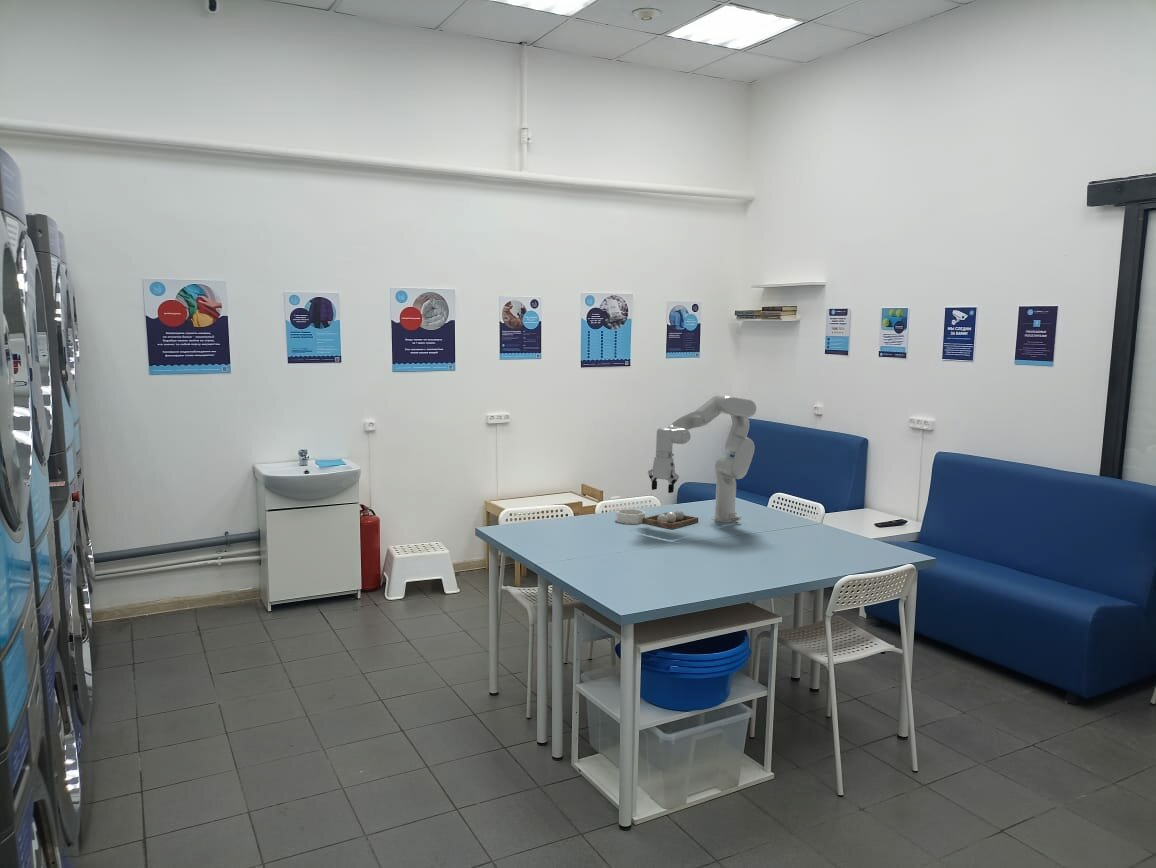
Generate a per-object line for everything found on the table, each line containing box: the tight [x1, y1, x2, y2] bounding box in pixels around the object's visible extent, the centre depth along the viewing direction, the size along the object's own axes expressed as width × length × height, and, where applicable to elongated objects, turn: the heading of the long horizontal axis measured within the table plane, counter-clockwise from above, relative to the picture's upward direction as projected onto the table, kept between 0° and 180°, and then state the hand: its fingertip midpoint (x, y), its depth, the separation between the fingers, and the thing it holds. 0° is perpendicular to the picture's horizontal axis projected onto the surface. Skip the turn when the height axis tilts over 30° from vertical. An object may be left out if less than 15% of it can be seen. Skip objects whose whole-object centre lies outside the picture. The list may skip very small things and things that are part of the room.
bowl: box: [615, 508, 646, 525], centre depth 386 cm, size 13×13×5 cm
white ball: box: [657, 513, 668, 523], centre depth 378 cm, size 5×5×5 cm
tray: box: [643, 511, 699, 530], centre depth 383 cm, size 17×21×3 cm
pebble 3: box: [673, 509, 685, 521], centre depth 388 cm, size 5×5×5 cm
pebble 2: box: [666, 511, 676, 523], centre depth 383 cm, size 5×5×5 cm
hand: (662, 491), depth 377 cm, fingers open, 9 cm apart
